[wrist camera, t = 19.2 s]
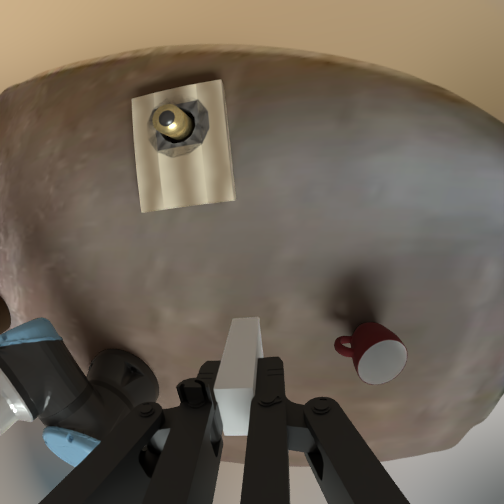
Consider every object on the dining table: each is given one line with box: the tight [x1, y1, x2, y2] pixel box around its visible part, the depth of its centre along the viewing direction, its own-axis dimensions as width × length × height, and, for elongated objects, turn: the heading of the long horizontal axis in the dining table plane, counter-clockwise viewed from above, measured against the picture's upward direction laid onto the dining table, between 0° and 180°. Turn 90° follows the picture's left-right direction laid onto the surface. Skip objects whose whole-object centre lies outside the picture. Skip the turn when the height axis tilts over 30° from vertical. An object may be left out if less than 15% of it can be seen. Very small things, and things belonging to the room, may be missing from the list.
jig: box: [132, 80, 236, 213], centre depth 42 cm, size 14×18×3 cm
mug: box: [334, 322, 408, 385], centre depth 43 cm, size 11×8×10 cm
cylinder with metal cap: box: [152, 104, 195, 142], centre depth 39 cm, size 4×4×8 cm
